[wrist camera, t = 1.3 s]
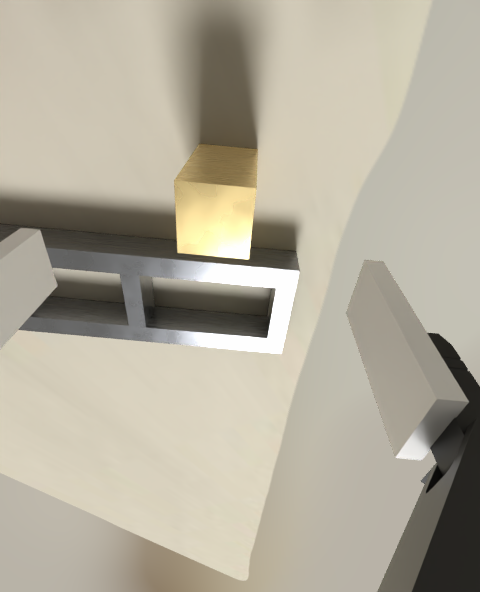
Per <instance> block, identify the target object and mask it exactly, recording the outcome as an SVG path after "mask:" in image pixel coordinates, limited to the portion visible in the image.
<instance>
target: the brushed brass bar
mask: <svg viewBox="0 0 480 592" xmlns="http://www.w3.org/2000/svg"><path fill="white" fill-rule="evenodd" d="M257 154H258V149H250V148H239V147H229V146H218V145H207V144H199V145H198V146H197V148H196V149H195V151H194V152H193V154H192V155H191V157H190V158H189V160H188V161H187V162H186V164H185V165H184V167H183V168H182V170H181V171H180V173H179V174H178V176H177V177H176V179H175V180H174V188H175V209H176V230H177V252H178V253H184V254H195V255H206V256H217V257H228V258H239V259H249V254H250V244H251V235H252V225H253V216H254V207H255V197H256V187H257Z"/></svg>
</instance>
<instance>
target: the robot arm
mask: <svg viewBox="0 0 480 592" xmlns="http://www.w3.org/2000/svg"><path fill="white" fill-rule="evenodd" d="M57 286H58V285H57V282H56V279H55V276H54V273H53V269H52V266H51V263H50V260H49V257H48V253H47V250H46V247H45V244H44V241H43V238H42V234H41V231H40V230H39V229H29V228H20V229H19V230H17V231H16V232H14V233H13V234H11V235H10V236H8V237H7V238H6V239H4V240H3V241H1V242H0V349H1V348H2V347H3V346H4V345H5V344H6V342H7V341H8V340H9V339H10V338H11V337H12V336H13V335H14V334H15V333H16V331H17V330H18V329H19V328H20V327H21V326H22V325H23V324H24V323H25V321H26V320H27V319H28V318H29V317H30V316H31V315H32V314H33V313H34V312H35V310H36V309H37V308H38V307H39V306H40V305H41V304H42V303H43V302H44V300H45V299H46V298H47V297H48V296H49V295H50V294H51V293H52V292H53V291H54V289H55V288H56V287H57ZM346 314H347V317H348V319H349V323H350V326H351V328H352V331H353V335H354V338H355V340H356V343H357V346H358V349H359V352H360V355H361V358H362V361H363V364H364V367H365V370H366V373H367V376H368V379H369V382H370V385H371V388H372V390H373V393H374V397H375V400H376V403H377V405H378V408H379V411H380V414H381V417H382V420H383V423H384V426H385V429H386V432H387V435H388V438H389V441H390V443H391V447H392V450H393V453H394V456H395V458H402V459H413V460H422V459H423V458H424V457H425V456H426V454H427V453H428V452H429V451H430V449H431V450H432V453H433V455H434V457H435V460H436V462H437V463H436V464H435V465H434V466H433V468H432V469H431V470H430V471H429V472H428V473H427V474H426V476H425V477H424V478H423V479H422V480H421V482H423V483H424V484H425V485H424V487H423V490H422V492H421V494H420V496H419V499H418V501H417V503H416V505H415V508H414V510H413V512H412V515H411V517H410V519H409V521H408V524H407V526H406V528H405V530H404V533H403V535H402V537H401V540H400V542H399V544H398V546H397V549H396V551H395V553H394V555H393V558H392V560H391V562H390V564H389V567H388V569H387V571H386V574H385V576H384V578H383V580H382V583H381V585H380V587H379V589H378V592H480V386H479V385H478V383H477V382H476V380H475V379H474V377H473V376H472V374H471V373H470V371H467V367H466V366H465V364H464V363H463V361H461V360H460V357H459V355H458V354H457V352H456V351H455V349H454V348H453V346H452V345H451V344H450V343H448V342H447V341H446V340H445V339H444V338H443V337H442V336H440V335H439V334H435V333H427V332H426V331H425V329H424V327H423V326H422V324H421V322H420V321H419V319H418V318H417V316H416V314H415V313H414V311H413V309H412V308H411V306H410V304H409V303H408V301H407V299H406V298H405V296H404V294H403V293H402V291H401V290H400V288H399V286H398V285H397V283H396V281H395V280H394V278H393V276H392V275H391V273H390V271H389V270H388V268H387V267H386V265H385V263H384V262H383V261H372V260H364V263H363V266H362V269H361V271H360V274H359V277H358V280H357V283H356V286H355V289H354V291H353V295H352V297H351V300H350V303H349V306H348V309H347V311H346Z"/></svg>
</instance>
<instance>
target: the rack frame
mask: <svg viewBox="0 0 480 592" xmlns="http://www.w3.org/2000/svg"><path fill="white" fill-rule="evenodd" d="M20 228H29V229H39V230H40V231H41V234H42V238H43V241H44V244H45V247H46V250H47V253H48V257H49V260H50V263H51V266H52V268H63V269H74V270H84V271H95V272H106V273H117V274H120V278H121V283H122V289H123V295H124V300H125V303H114V302H103V301H92V300H81V299H70V298H59V297H49V296H48V297H47V298H46V299H45V300H44V302H43V303H42V304H41V305H40V306H39V307H38V308H37V309H36V310H35V312H34V313H33V314H32V315H31V316H30V317H29V318H28V319H27V320H26V321H25V323H24V324H23V325H22V326H21V327H20V328H19V329H18V330H26V331H37V332H48V333H59V334H70V335H81V336H92V337H103V338H114V339H124V340H135V341H146V342H157V343H168V344H179V345H190V346H201V347H212V348H223V349H234V350H245V351H256V352H267V353H278V354H281V353H282V349H283V344H284V340H285V335H286V331H287V326H288V322H289V317H290V313H291V308H292V304H293V299H294V295H295V290H296V286H297V281H298V277H299V272H300V270H299V264H298V258H297V253H296V251H286V250H275V249H264V248H254V247H250V254H249V259H239V258H228V257H217V256H206V255H195V254H184V253H178V252H177V240H167V239H156V238H146V237H135V236H124V235H113V234H102V233H92V232H81V231H70V230H59V229H48V228H38V227H27V226H16V225H5V224H0V242H1V241H3V240H4V239H6V238H7V237H8V236H10V235H11V234H13V233H14V232H16V231H17V230H19V229H20ZM152 277H160V278H171V279H182V280H193V281H204V282H215V283H225V284H236V285H247V286H258V287H269V288H272V289H271V295H270V301H269V308H268V314H267V317H266V316H255V315H245V314H234V313H223V312H212V311H201V310H190V309H179V308H168V307H157V306H155V302H154V292H153V283H152Z"/></svg>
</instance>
